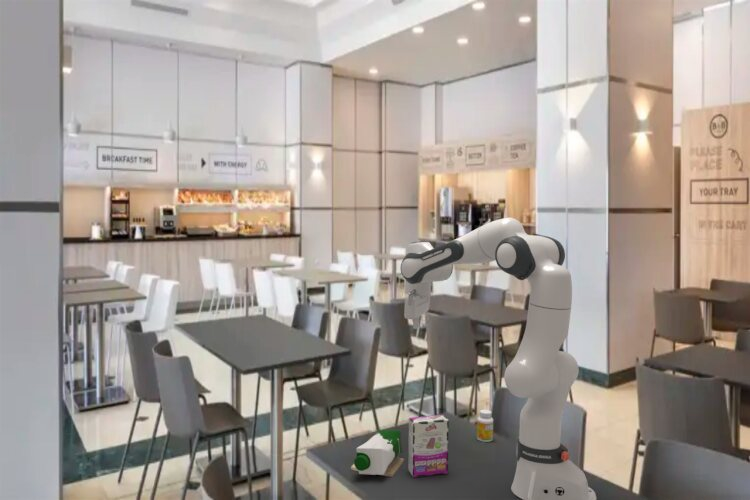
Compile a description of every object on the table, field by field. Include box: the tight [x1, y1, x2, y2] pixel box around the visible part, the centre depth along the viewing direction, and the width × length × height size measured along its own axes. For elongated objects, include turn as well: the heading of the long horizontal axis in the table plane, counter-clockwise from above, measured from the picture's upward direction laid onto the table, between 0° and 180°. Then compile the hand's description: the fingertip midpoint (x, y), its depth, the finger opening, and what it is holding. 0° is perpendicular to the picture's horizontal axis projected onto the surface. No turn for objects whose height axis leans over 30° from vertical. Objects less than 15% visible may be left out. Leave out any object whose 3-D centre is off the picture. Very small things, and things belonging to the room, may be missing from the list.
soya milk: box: [353, 429, 403, 476], centre depth 181 cm, size 9×9×20 cm
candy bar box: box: [407, 414, 449, 478], centre depth 178 cm, size 11×5×16 cm, turn 105°
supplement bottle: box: [476, 409, 494, 443], centre depth 206 cm, size 5×5×10 cm
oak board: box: [350, 456, 405, 478], centre depth 183 cm, size 13×12×1 cm
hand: (416, 328), depth 208 cm, fingers closed
